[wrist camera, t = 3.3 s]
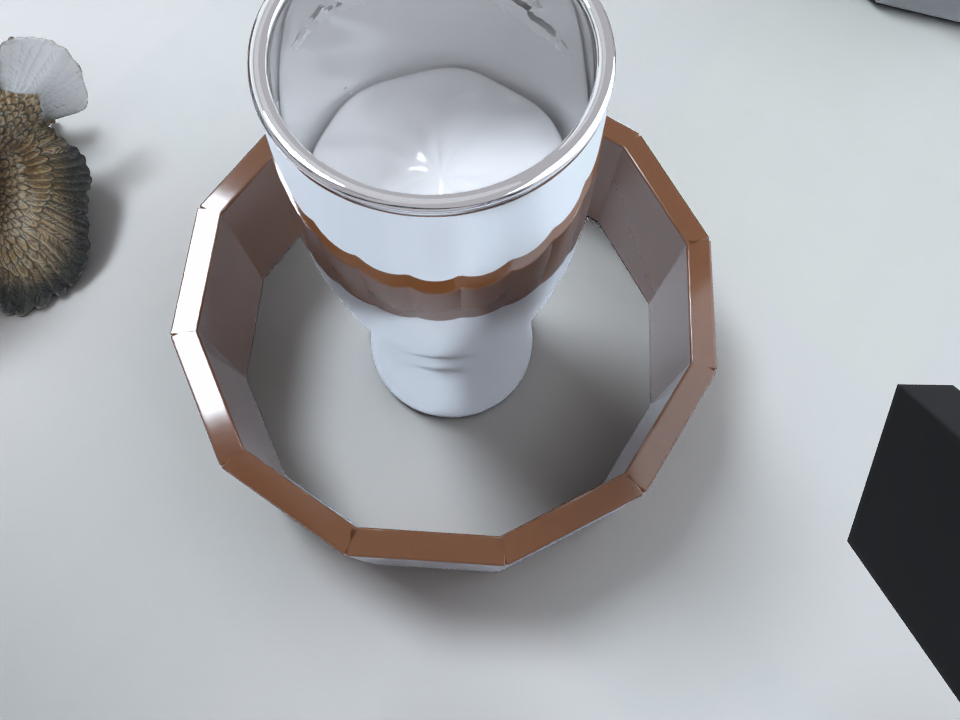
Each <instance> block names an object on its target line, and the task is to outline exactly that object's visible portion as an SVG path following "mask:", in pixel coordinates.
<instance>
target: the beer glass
mask: <svg viewBox="0 0 960 720" xmlns="http://www.w3.org/2000/svg"><path fill="white" fill-rule="evenodd" d="M615 73H616V51H615V43H614V37H613V32H612V29H611V25H610V22H609V19H608V16H607V14H606V12H605V9H604V7H603V5H602V3H601V2H600V0H264V2H263V4H262V6H261V8H260V10H259V12H258V14H257V17H256V19H255V22H254V24H253V28H252V31H251V35H250V40H249V45H248V53H247V74H248V83H249V88H250V93H251V97H252V101H253V104H254V107H255V109H256V112H257V114H258V116H259V118H260V121H261V123H262V124H263V127H264V130H265V133H266V137H267V140H268V144H269V147H270V151H271V154H272V158H273V161H274V165H275V168H276V171H277V174H278V177H279V180H280V183H281V186H282V190H283V193H284V196H285V199H286V201H287V204H288V206H289V209H290V211H291V214H292V216H293V219H294V221H295V224H296V226H297V229H298V231H299V234H300V236H301V238H302V240H303V242H304V244H305V246H306V248H307V249H308V251H309V253H310V255H311V257H312V259H313V261H314V262H315V264H316V266H317V268H318V270H319V272H320V273H321V275H322V276H323V278H324V279H325V281H326V282H327V284H328V285H329V286H330V288H331V289H332V290H333V291H334V292H335V294H336V295H337V296H338V297H339V299H340V300H341V301H342V302H343V304H344V305H345V306H346V307H347V308H348V310H349V311H350V312H351V313H352V314H353V315H354V316H355V317H356V318H357V319H358V320H359V321H360V322H361V323H362V324H363V325H364V326H365V327H366V328H368V329H369V330H370V331H371V350H372V356H373V360H374V363H375V366H376V369H377V371H378V373H379V375H380V377H381V379H382V380H383V382H384V384H385V385H386V386H387V388H388V389H389V390H390V391H391V392H392V393H393V394H394V395H395V396H396V397H397V398H398V399H399V400H401V401H402V402H403V403H405V404H406V405H408V406H410V407H411V408H413V409H415V410H418V411H420V412H423V413H426V414H429V415H433V416H439V417H464V416H469V415H474V414H477V413H480V412H483V411H485V410H487V409H489V408H491V407H493V406H495V405H496V404H498V403H499V402H501V401H502V400H503V399H505V398H506V397H507V396H508V395H509V394H510V393H511V392H512V391H513V390H514V389H515V388H516V387H517V385H518V384H519V382H520V381H521V379H522V378H523V376H524V374H525V372H526V369H527V367H528V364H529V361H530V357H531V352H532V339H533V335H532V325H531V320H532V319H533V318H534V317H535V315H536V314H537V313H538V311H539V310H540V309H541V308H542V306H543V305H544V304H545V302H546V301H547V300H548V298H549V297H550V295H551V294H552V292H553V290H554V289H555V287H556V285H557V284H558V282H559V280H560V279H561V277H562V275H563V274H564V272H565V270H566V269H567V267H568V265H569V263H570V261H571V258H572V256H573V253H574V251H575V248H576V246H577V243H578V240H579V238H580V235H581V232H582V230H583V227H584V224H585V221H586V218H587V214H588V210H589V206H590V202H591V198H592V194H593V190H594V186H595V182H596V177H597V171H598V165H599V160H600V154H601V148H602V142H603V134H604V127H605V120H606V114H607V108H608V105H609V102H610V99H611V95H612V91H613V87H614V81H615Z"/></svg>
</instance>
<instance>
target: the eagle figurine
mask: <svg viewBox="0 0 960 720" xmlns="http://www.w3.org/2000/svg"><path fill="white" fill-rule="evenodd" d="M87 99H88V94H87V89H86V87H85V83H84V80H83V76H82V70H81V68H80V66H79V64H78V63H77V62H76V61H75V60H74V59H73V58H72V57H71V55H70V53H69V52H68V50H67V49H66V48H64V47H62V46H60V45H58V44H56V43H55V42H54V41H52V40H48V39H42V38H36V37H17V38H14V37H10V38H8V40H7V41H4V42H3V43H2V44H1V45H0V306H1V311H2V312H3V313H4V314H5V315H12V314H13V313H17V315H18V316H25V315H27V314H28V313H29V312H30V311H31V310H32V309H33V308H34V307H36V308H37V309H41V308H43V307H45V306H46V305H47V304H48V303H49V301H50V300H51V297H52V294H53V293H55V294H56V295H58V296H62V295H64V294H65V290H66V288H67V285H70V286H71V285H74V284H75V283H76V282H77V281H78V278H79V276H80V275H81V273H82V271H83V266H84V265H85V264H86V262H87V259H88V255H87V251H88V250H89V249H90V242H89V240H88V238H87V235H88V232H89V230H88V228H89V225H90V224H89V221H88V218H87V217H86V216H85V214H86V213H87V212H88V207H87V204H88V202H89V200H88V196H87V194H86V192H87V191H90V189H91V187H90V183H91V182H92V178H91V176H90V170H89V168H88V167H87V165H86V158H85V156H84V155H82V154H80V152H79V150H78V148H77V147H75V146H71V145H69V144H68V143H67V141H66V140H65V139H64V138H62V137H58V136H56V133H55V130H54V129H53V128H50V127H48V126H49V125H50V124H51V123H55V119H58V118H61V117H64V116H68V115H71V114H75V113H78V112H80V111H82V110H84V109H85V108H86V107H87V104H88V100H87Z"/></svg>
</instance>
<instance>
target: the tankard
mask: <svg viewBox="0 0 960 720" xmlns="http://www.w3.org/2000/svg"><path fill="white" fill-rule="evenodd" d="M874 1H875V2H876V3H880V4H884V5H888V6H892V7H897V8H901V9H905V10H909V11H913V12H918V13H922V14H926V15H930V16H934V17H938V18H943V19H947V20H951V21H955V22H959V23H960V0H874Z"/></svg>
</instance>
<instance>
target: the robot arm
mask: <svg viewBox="0 0 960 720" xmlns="http://www.w3.org/2000/svg"><path fill="white" fill-rule="evenodd" d="M847 541H848V543H849V544H850V546H851V547H852V549H853V550H854V551H855V553H856V554H857V556H858V557H859V559H860V560H861V561H862V563H863V564H864V566H865V567H866V569H867V570H868V571H869V573H870V574H871V576H872V577H873V579H874V580H875V582H876V583H877V584H878V586H879V587H880V589H881V590H882V592H883V593H884V594H885V596H886V597H887V599H888V600H889V602H890V603H891V604H892V606H893V607H894V609H895V610H896V612H897V613H898V614H899V616H900V617H901V619H902V620H903V622H904V623H905V624H906V626H907V627H908V629H909V630H910V632H911V633H912V634H913V636H914V637H915V639H916V640H917V642H918V643H919V644H920V646H921V647H922V649H923V650H924V652H925V653H926V654H927V656H928V657H929V659H930V660H931V662H932V663H933V665H934V666H935V667H936V669H937V670H938V672H939V673H940V675H941V676H942V677H943V679H944V680H945V682H946V683H947V685H948V686H949V687H950V689H951V690H952V692H953V693H954V695H955V696H956V697H957V699H958V700H959V702H960V390H958V389H957V388H956V387H954V386H953V385H902V384H898V385H897V388H896V391H895V394H894V397H893V400H892V404H891V407H890V410H889V413H888V416H887V419H886V422H885V425H884V428H883V432H882V435H881V438H880V441H879V444H878V447H877V450H876V453H875V456H874V459H873V463H872V466H871V469H870V472H869V475H868V478H867V481H866V484H865V487H864V491H863V494H862V497H861V500H860V503H859V506H858V509H857V512H856V515H855V519H854V522H853V525H852V528H851V531H850V534H849V537H848V540H847Z"/></svg>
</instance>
